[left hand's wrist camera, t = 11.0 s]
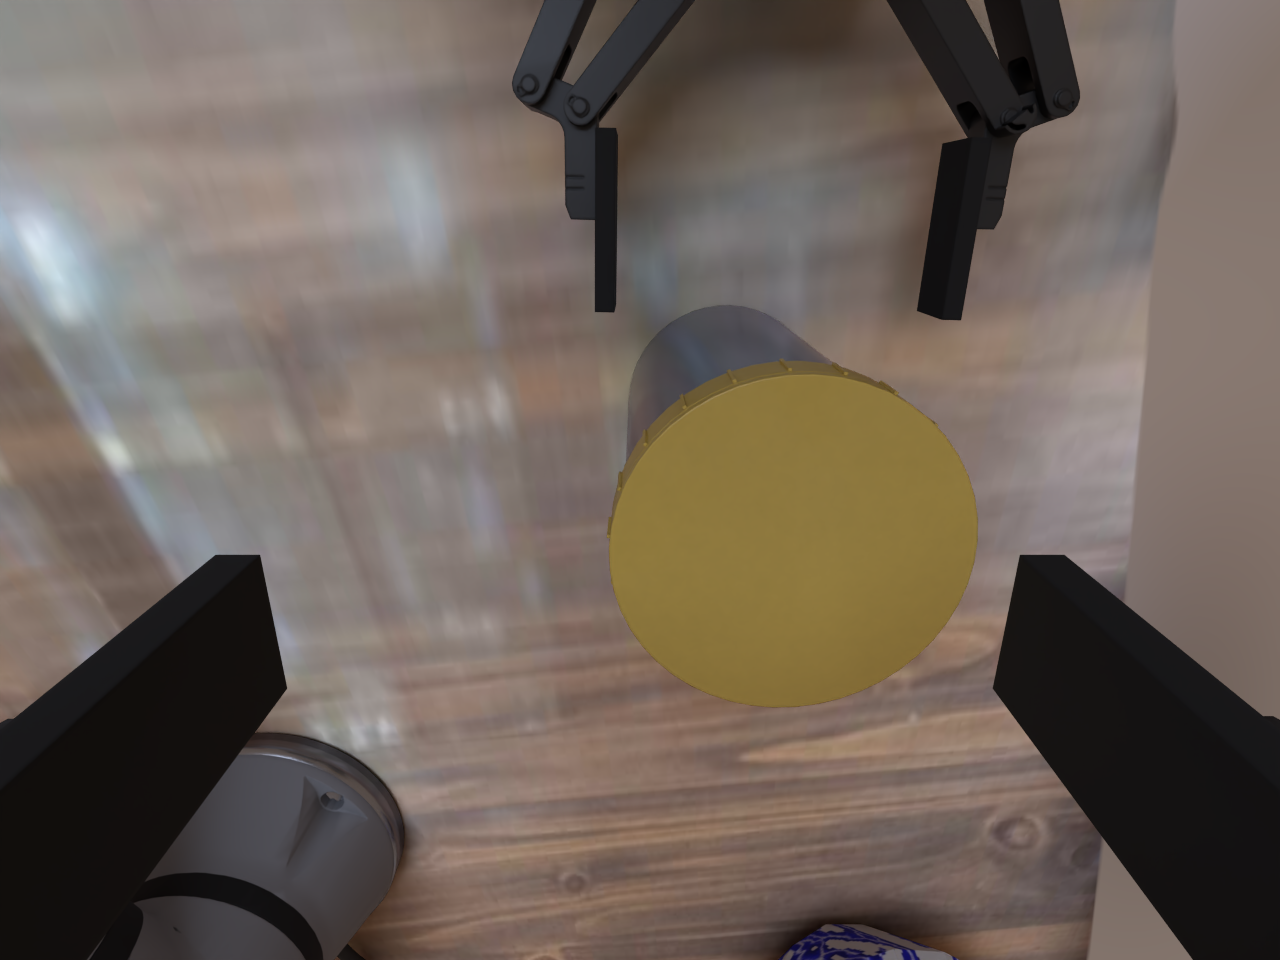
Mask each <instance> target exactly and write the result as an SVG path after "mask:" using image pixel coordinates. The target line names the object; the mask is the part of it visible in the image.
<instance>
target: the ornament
mask: <svg viewBox="0 0 1280 960" xmlns="http://www.w3.org/2000/svg"><path fill="white" fill-rule="evenodd" d="M779 960H959V959H957V958H955V957H953V956H951V955H949V954H947V953H945V952H943V951H940V950H937V949H934V948H931V947H928V946H925V945H922V944H919V943H916V942H913V941H910V940H907V939H904V938H901V937H898V936H895V935H893V934H890V933H887V932H884V931H881V930H878V929H875V928H872V927H869V926H866V925H863V924H825V925H824V926H822V927H821V928H819V929H818V930H816V931H815V932H813V933H811V934H810V935H808V936H807V937H805V938H804V939H802V940H801V941H799V942H798V943H796V944H794V945H793V946H792V947H791V948H790V949H789V950H788V951H787V952H786V953H785V954H784V955H783V956H782V957H781V958H780V959H779Z"/></svg>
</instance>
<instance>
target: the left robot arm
mask: <svg viewBox="0 0 1280 960" xmlns="http://www.w3.org/2000/svg"><path fill="white" fill-rule="evenodd" d="M286 689H287V685H286V680H285V675H284V670H283V665H282V661H281V656H280V651H279V646H278V641H277V636H276V631H275V626H274V621H273V616H272V611H271V607H270V602H269V597H268V592H267V587H266V582H265V577H264V572H263V567H262V562H261V557H260V555H215V556H214V557H212V558H211V559H210V560H209V561H208V562H206V563H205V564H204V565H203V566H201V567H200V568H199V569H198V570H196V571H195V572H194V573H193V574H192V575H190V576H189V577H188V578H187V579H185V580H184V581H183V582H182V583H180V584H179V585H178V586H177V587H176V588H174V589H173V590H172V591H171V592H169V593H168V594H167V595H166V596H164V597H163V598H162V599H161V600H160V601H158V602H157V603H156V604H155V605H153V606H152V607H151V608H150V609H148V610H147V611H146V612H145V613H144V614H142V615H141V616H140V617H139V618H137V619H136V620H135V621H134V622H132V623H131V624H130V625H129V626H127V627H126V628H125V629H124V630H123V631H121V632H120V633H119V634H118V635H116V636H115V637H114V638H113V639H111V640H110V641H109V642H108V643H107V644H105V645H104V646H103V647H102V648H100V649H99V650H98V651H97V652H95V653H94V654H93V655H92V656H91V657H89V658H88V659H87V660H86V661H84V662H83V663H82V664H81V665H79V666H78V667H77V668H76V669H75V670H73V671H72V672H71V673H70V674H68V675H67V676H66V677H65V678H63V679H62V680H61V681H60V682H59V683H57V684H56V685H55V686H54V687H52V688H51V689H50V690H49V691H47V692H46V693H45V694H44V695H43V696H41V697H40V698H39V699H38V700H36V701H35V702H34V703H33V704H31V705H30V706H29V707H28V708H26V709H25V710H24V711H23V712H22V713H20V714H19V715H18V716H17V717H15V718H14V719H7V720H5V721H3V722H1V723H0V960H334V959H335V958H336V957H338V958H339V959H340V960H365V959H364V958H363V957H361V956H360V955H359V954H357V953H356V952H355V951H354V950H353V949H352V948H351V947H350V946H349V945H348V944H347V943H348V942H349V941H350V939H351V938H352V937H353V936H354V934H355V933H356V932H357V931H358V929H359V928H360V927H361V925H362V924H363V923H364V922H365V920H366V919H367V918H368V916H369V915H370V914H371V913H372V912H373V911H374V910H375V908H376V907H377V906H378V905H379V904H380V903H381V902H382V900H383V899H384V897H385V896H386V894H387V893H388V890H389V888H390V886H391V884H392V881H393V878H394V876H395V873H396V870H397V867H398V865H399V862H400V859H401V856H402V852H403V846H404V830H403V824H402V819H401V816H400V813H399V810H398V808H397V806H396V804H395V802H394V800H393V798H392V797H391V795H390V794H389V792H388V791H387V789H386V788H385V787H384V785H383V784H382V783H381V782H380V781H379V780H378V779H377V778H376V777H375V776H374V775H373V774H372V773H371V772H370V771H369V770H368V769H367V768H365V767H364V766H363V765H361V764H360V763H359V762H357V761H356V760H354V759H353V758H351V757H350V756H348V755H346V754H344V753H343V752H341V751H339V750H337V749H335V748H332V747H330V746H328V745H326V744H323V743H320V742H317V741H314V740H311V739H307V738H303V737H298V736H293V735H287V734H278V733H255V731H256V730H257V729H258V727H259V726H260V725H261V723H262V722H263V721H264V719H265V718H266V716H267V715H268V714H269V712H270V711H271V710H272V708H273V707H274V706H275V704H276V703H277V702H278V700H279V699H280V698H281V696H282V695H283V693H284V692H285V691H286ZM993 689H994V691H995V692H996V693H997V695H998V696H999V698H1000V699H1001V700H1002V702H1003V703H1004V704H1005V706H1006V707H1007V708H1008V710H1009V711H1010V712H1011V714H1012V715H1013V716H1014V718H1015V719H1016V721H1017V722H1018V723H1019V725H1020V726H1021V727H1022V729H1023V730H1024V731H1025V733H1026V734H1027V735H1028V737H1029V738H1030V740H1031V741H1032V742H1033V744H1034V745H1035V746H1036V748H1037V749H1038V750H1039V752H1040V753H1041V754H1042V756H1043V757H1044V758H1045V760H1046V761H1047V763H1048V764H1049V765H1050V767H1051V768H1052V769H1053V771H1054V772H1055V773H1056V775H1057V776H1058V777H1059V779H1060V780H1061V782H1062V783H1063V784H1064V786H1065V787H1066V788H1067V790H1068V791H1069V792H1070V794H1071V795H1072V796H1073V798H1074V799H1075V800H1076V802H1077V803H1078V805H1079V806H1080V807H1081V809H1082V810H1083V811H1084V813H1085V814H1086V815H1087V817H1088V818H1089V819H1090V821H1091V822H1092V824H1093V825H1094V826H1095V828H1096V829H1097V830H1098V832H1099V833H1100V834H1101V836H1102V837H1103V838H1104V840H1105V841H1106V842H1107V844H1108V845H1109V846H1110V848H1111V849H1112V851H1113V852H1114V853H1115V855H1116V856H1117V857H1118V859H1119V860H1120V861H1121V863H1122V864H1123V866H1124V867H1125V868H1126V870H1127V871H1128V872H1129V874H1130V875H1131V876H1132V878H1133V879H1134V880H1135V882H1136V883H1137V884H1138V886H1139V887H1140V889H1141V890H1142V891H1143V893H1144V894H1145V895H1146V897H1147V898H1148V899H1149V901H1150V902H1151V903H1152V905H1153V906H1154V907H1155V909H1156V910H1157V912H1158V913H1159V914H1160V916H1161V917H1162V918H1163V920H1164V921H1165V922H1166V924H1167V925H1168V927H1169V928H1170V929H1171V931H1172V932H1173V933H1174V935H1175V936H1176V937H1177V939H1178V940H1179V941H1180V943H1181V944H1182V945H1183V947H1184V948H1185V949H1186V951H1187V952H1188V953H1189V955H1190V956H1191V958H1192V959H1193V960H1280V720H1279V719H1277V718H1275V717H1274V716H1262V715H1261V714H1260V713H1258V712H1257V711H1256V710H1255V709H1253V708H1252V707H1251V706H1250V705H1249V704H1247V703H1246V702H1245V701H1244V700H1242V699H1241V698H1240V697H1239V696H1237V695H1236V694H1235V693H1234V692H1233V691H1231V690H1230V689H1229V688H1228V687H1226V686H1225V685H1224V684H1223V683H1221V682H1220V681H1219V680H1218V679H1216V678H1215V677H1214V676H1213V675H1212V674H1210V673H1209V672H1208V671H1207V670H1205V669H1204V668H1203V667H1202V666H1200V665H1199V664H1198V663H1197V662H1196V661H1194V660H1193V659H1192V658H1191V657H1189V656H1188V655H1187V654H1186V653H1184V652H1183V651H1182V650H1181V649H1180V648H1178V647H1177V646H1176V645H1175V644H1173V643H1172V642H1171V641H1170V640H1168V639H1167V638H1166V637H1165V636H1164V635H1162V634H1161V633H1160V632H1159V631H1157V630H1156V629H1155V628H1154V627H1153V626H1151V625H1150V624H1149V623H1148V622H1146V621H1145V620H1144V619H1143V618H1141V617H1140V616H1139V615H1138V614H1136V613H1135V612H1134V611H1133V610H1132V609H1130V608H1129V607H1128V606H1127V605H1125V604H1124V603H1123V602H1122V601H1120V600H1119V599H1118V598H1117V597H1116V596H1114V595H1113V594H1112V593H1111V592H1109V591H1108V590H1107V589H1106V588H1104V587H1103V586H1102V585H1101V584H1100V583H1098V582H1097V581H1096V580H1095V579H1093V578H1092V577H1091V576H1090V575H1088V574H1087V573H1086V572H1085V571H1084V570H1082V569H1081V568H1080V567H1079V566H1077V565H1076V564H1075V563H1074V562H1072V561H1071V560H1070V559H1069V558H1068V557H1066V556H1065V555H1020V557H1019V562H1018V567H1017V572H1016V577H1015V582H1014V587H1013V592H1012V597H1011V602H1010V607H1009V611H1008V616H1007V621H1006V626H1005V631H1004V636H1003V641H1002V646H1001V651H1000V656H999V661H998V665H997V670H996V675H995V680H994V685H993Z"/></svg>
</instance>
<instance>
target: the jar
mask: <svg viewBox="0 0 1280 960" xmlns="http://www.w3.org/2000/svg"><path fill="white" fill-rule="evenodd" d="M779 359H784V360H785V361H808V362H817V363H825V364H830V365H832V362H831V361H830V360H829V359H827V358H826V357H825V356H824V355H822V354H821V353H820V352H818V351H817V350H816V349H814V348H813V347H812V346H811V345H809V344H808V343H807V342H805V341H804V340H803V339H801V338H800V337H799V336H798V335H796V334H795V333H794V332H792V331H791V330H790V329H788V328H787V327H786V326H785V325H783V324H782V323H781V322H779V321H778V320H776V319H774V318H773V317H771V316H769V315H767V314H765V313H763V312H760V311H758V310H755V309H751V308H746V307H741V306H732V305H726V306H713V307H707V308H703V309H699V310H696V311H693V312H690V313H688V314H686V315H684V316H681V317H680V318H678V319H676V320H675V321H673V322H671V323H670V324H669V325H667V326H666V327H665V328H664V329H662V330H661V331H660V332H659V333H658V334H657V335H656V336H655V337H654V338H653V339H652V340H651V342H650V343H649V344H648V346H647V347H646V348H645V350H644V351H643V353H642V355H641V357H640V358H639V360H638V362H637V365H636V367H635V370H634V372H633V376H632V380H631V384H630V392H629V406H628V428H627V450H626V462H627V460H628V458H629V457H630V455H631V453H632V451H633V450H634V448H635V446H636V444H637V443H638V441H639V440H640V439H641V437H642V436H643V430H644V429H645V430H647V429H648V428H649V427H650V425H651V424H652V423H653V422H654V421H655V420H656V419H657V418H658V417H659V416H660V415H661V414H662V413H663V412H664V411H665V410H666V409H667V408H668V407H670V406H671V405H672V404H674V403H675V402H676V401H677V400H679V399H680V395H681V394H683V395H685V394H687V393H688V392H690V391H692V390H693V389H695V388H697V387H698V386H700V385H702V384H703V383H705V382H707V381H709V380H711V379H714V378H716V377H718V376H721V375H723V374H725V373H727V370H729V369H730V370H731V371H734V370H737V369H741V368H744V367H748V366H751V365H757V364H763V363H769V362H776V361H779Z"/></svg>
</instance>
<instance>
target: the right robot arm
mask: <svg viewBox="0 0 1280 960" xmlns="http://www.w3.org/2000/svg"><path fill="white" fill-rule="evenodd" d="M694 1H695V0H638V1H637V2H636V4H635V5H634V6H633V8H632V9H631V10H630V12H629V13H628V14H627V16H626V17H625V18H624V20H623V21H622V22H621V24H620V25H619V26H618V27H617V29H616V30H615V31H614V33H613V34H612V35H611V37H610V38H609V39H608V41H607V42H606V43H605V45H604V46H603V47H602V49H601V50H600V51H599V53H598V54H597V55H596V56H595V58H594V59H593V60H592V62H591V63H590V64H589V66H588V67H587V68H586V70H585V71H584V72H583V74H582V75H581V76H580V78H579V79H578V80H577V82H576V83H575V84H574V85H571V84H569V83H566V82H564V81H562V79H563V76H564V74H565V72H566V69H567V67H568V65H569V63H570V60H571V58H572V56H573V53H574V51H575V49H576V46H577V44H578V42H579V40H580V37H581V35H582V33H583V30H584V28H585V26H586V23H587V21H588V19H589V16H590V14H591V12H592V10H593V7H594V5H595V3H596V0H545V1H544V3H543V6H542V8H541V11H540V13H539V15H538V18H537V20H536V23H535V25H534V28H533V30H532V32H531V35H530V37H529V40H528V42H527V44H526V47H525V49H524V52H523V54H522V57H521V59H520V61H519V64H518V66H517V69H516V71H515V74H514V76H513V81H512V86H513V91H514V93H515V95H516V97H517V98H518V99H519V100H520V101H521V102H522V103H523V104H524V105H525V106H526V107H528V108H529V109H530V110H532V111H535V112H538V113H540V114H543V115H545V116H547V117H550V118H552V119H554V120H556V121H558V122H559V123H560V124H561V126H562V128H563V131H564V136H565V205H566V208H567V210H568V213H569V216H570V218H571V219H580V220H595V312H614V311H615V307H616V266H617V175H618V134H617V130H616V128H599V122H600V121H601V120H602V118H603V117H604V116H605V115H606V113H607V112H608V111H609V109H610V108H611V107H612V106H613V104H614V103H615V102H616V100H617V99H618V98H619V97H620V95H621V94H622V93H623V92H624V90H625V89H626V88H627V86H628V85H629V84H630V83H631V81H632V80H633V79H634V77H635V76H636V75H637V74H638V72H639V71H640V70H641V68H642V67H643V66H644V65H645V63H646V62H647V61H648V60H649V58H650V57H651V56H652V54H653V53H654V52H655V51H656V49H657V48H658V47H659V45H660V44H661V43H662V42H663V40H664V39H665V38H666V37H667V35H668V34H669V33H670V31H671V30H672V29H673V28H674V26H675V25H676V24H677V22H678V21H679V20H680V19H681V17H682V16H683V15H684V14H685V12H686V11H687V10H688V8H689V7H690V6H691V5H692V3H693V2H694ZM887 2H888V3H889V5H890V7H891V8H892V10H893V12H894V13H895V15H896V17H897V19H898V20H899V22H900V24H901V25H902V27H903V29H904V30H905V32H906V34H907V36H908V37H909V39H910V41H911V42H912V44H913V46H914V47H915V49H916V51H917V52H918V54H919V56H920V58H921V59H922V61H923V63H924V64H925V66H926V68H927V69H928V71H929V73H930V75H931V76H932V78H933V80H934V81H935V83H936V85H937V86H938V88H939V90H940V91H941V93H942V95H943V97H944V98H945V100H946V102H947V103H948V105H949V107H950V108H951V110H952V112H953V114H954V115H955V117H956V119H957V120H958V122H959V124H960V125H961V127H962V129H963V131H964V132H965V134H966V136H967V137H968V138H966V139H961V140H957V141H952V142H948V143H943V144H942V150H941V157H940V163H939V170H938V176H937V183H936V190H935V196H934V203H933V209H932V216H931V222H930V229H929V235H928V242H927V248H926V255H925V262H924V268H923V275H922V281H921V288H920V294H919V301H918V307H917V311H919V312H922V313H924V314H927V315H930V316H933V317H936V318H938V319H941V320H961V317H962V311H963V305H964V300H965V294H966V288H967V283H968V277H969V271H970V265H971V260H972V254H973V248H974V242H975V237H976V231H977V229H994V228H995V226H996V225H997V223H998V221H999V219H1000V218H1001V216H1002V211H1003V205H1004V198H1005V194H1006V187H1007V184H1008V178H1009V173H1010V167H1011V162H1012V156H1013V151H1014V147H1015V144H1016V142H1017V140H1018V138H1019V137H1020V136H1021V134H1022V133H1024V132H1025V131H1027V130H1029V129H1030V128H1032V127H1034V126H1037V125H1040V124H1043V123H1046V122H1048V121H1051V120H1054V119H1057V118H1061V117H1064V116H1067V115H1069V114H1070V113H1072V112H1073V111H1074V109H1075V108H1076V107H1077V105H1078V102H1079V99H1080V90H1079V86H1078V82H1077V77H1076V73H1075V68H1074V64H1073V60H1072V55H1071V51H1070V47H1069V42H1068V38H1067V34H1066V29H1065V25H1064V21H1063V16H1062V12H1061V8H1060V3H1059V0H984V3H985V7H986V11H987V15H988V18H989V22H990V26H991V30H992V34H993V38H994V41H995V45H996V49H997V53H998V57H999V59H998V57H997V56H996V54H995V52H994V50H993V48H992V47H991V45H990V43H989V41H988V39H987V38H986V36H985V34H984V32H983V31H982V29H981V27H980V25H979V23H978V22H977V20H976V18H975V16H974V14H973V13H972V11H971V9H970V7H969V5H968V4H967V2H966V0H887Z"/></svg>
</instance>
